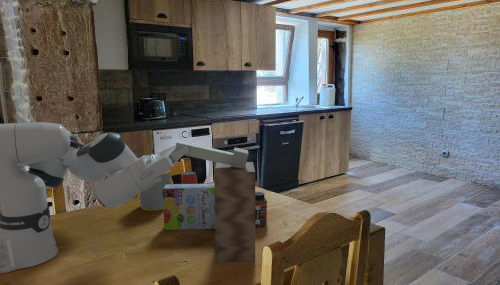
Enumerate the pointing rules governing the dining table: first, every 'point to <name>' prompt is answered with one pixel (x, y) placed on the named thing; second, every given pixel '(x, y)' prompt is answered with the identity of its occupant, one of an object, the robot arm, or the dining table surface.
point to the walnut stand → (235, 213)
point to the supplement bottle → (260, 209)
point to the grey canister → (154, 195)
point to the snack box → (189, 206)
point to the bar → (216, 154)
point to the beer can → (189, 178)
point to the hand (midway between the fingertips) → (189, 146)
